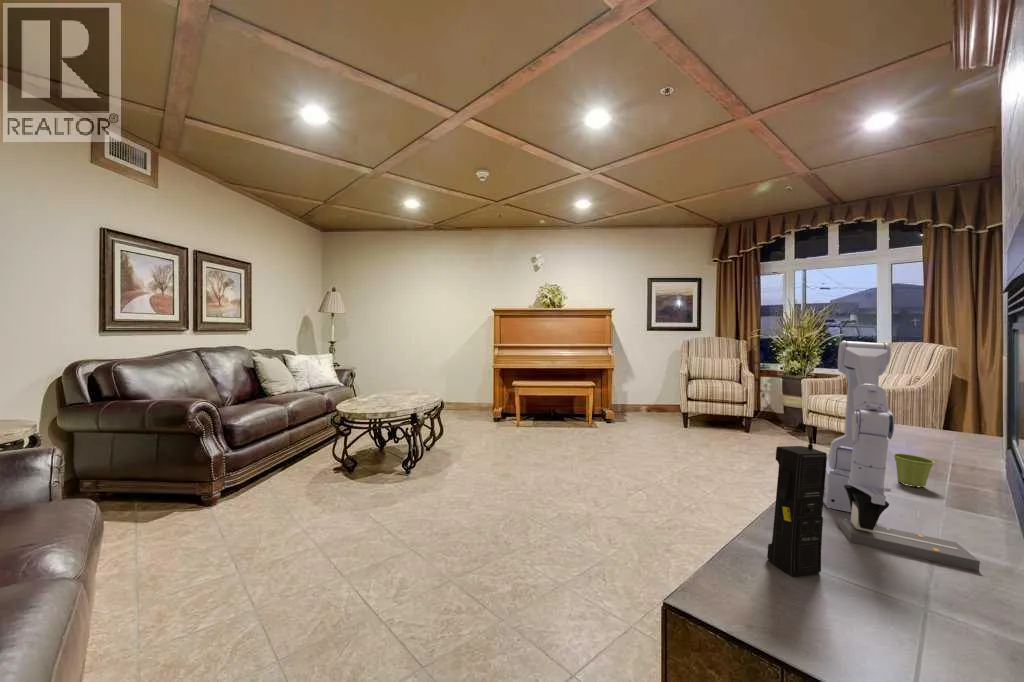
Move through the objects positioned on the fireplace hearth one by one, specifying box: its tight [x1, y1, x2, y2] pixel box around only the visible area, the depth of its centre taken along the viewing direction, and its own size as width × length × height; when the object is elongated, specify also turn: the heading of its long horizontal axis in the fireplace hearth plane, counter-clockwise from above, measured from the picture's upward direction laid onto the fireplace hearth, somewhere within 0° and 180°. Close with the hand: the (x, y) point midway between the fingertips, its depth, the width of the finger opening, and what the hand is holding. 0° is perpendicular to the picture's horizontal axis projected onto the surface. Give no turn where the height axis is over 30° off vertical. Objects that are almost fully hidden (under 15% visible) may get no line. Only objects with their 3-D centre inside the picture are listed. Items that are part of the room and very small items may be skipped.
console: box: [838, 517, 981, 572], centre depth 86 cm, size 20×8×2 cm, turn 65°
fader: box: [850, 501, 875, 533], centre depth 89 cm, size 3×4×5 cm
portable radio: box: [766, 435, 828, 577], centre depth 75 cm, size 8×6×25 cm
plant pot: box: [892, 453, 936, 487], centre depth 125 cm, size 9×9×9 cm
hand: (862, 523), depth 89 cm, fingers closed on fader, 4 cm apart
